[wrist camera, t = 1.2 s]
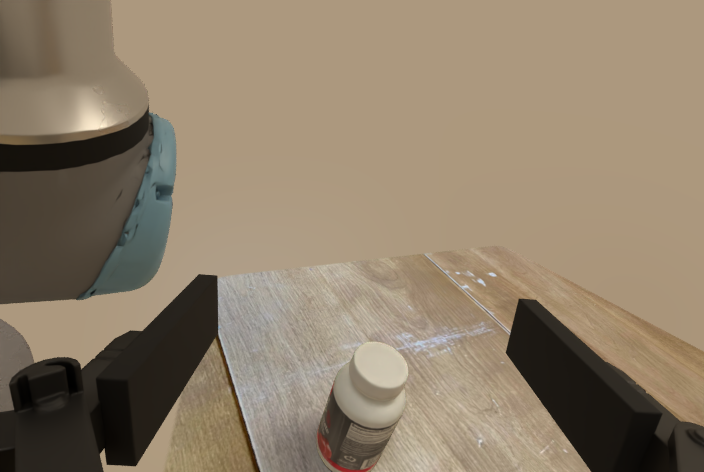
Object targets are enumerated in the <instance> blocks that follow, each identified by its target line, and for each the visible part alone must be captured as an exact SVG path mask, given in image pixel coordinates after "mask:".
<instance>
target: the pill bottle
mask: <svg viewBox="0 0 704 472" xmlns="http://www.w3.org/2000/svg"><path fill="white" fill-rule="evenodd" d="M407 378H408V366H407V363H406V361H405V359H404V358H403V356H402V355H401V354H400V353H399V352H398V351H397V350H396V349H394V348H393V347H391V346H389V345H387V344H384V343H381V342H367V343H364V344H362V345H360V346H359V347H358V348H357V349H356V351H355V353H354V355H353V357H352V359H351V361H350V362H348V363H347V364H345V365H344V366H343V367H342V368H341V369H340V370H339V372H338V373H337V376H336V378H335V380H334V383H333V386H332V389H331V392H330V395H329V398H328V401H327V404H326V407H325V410H324V413H323V415H322V418H321V421H320V424H319V427H318V430H317V436H316V445H317V450H318V453H319V455H320V457H321V459H322V461H323V462H324V464H325V465H326V466H327V467H328V468H329V469H330V470H331V471H333V472H370V471H371V470H372V469H373V468H374V466H375V465H376V463H377V461H378V459H379V458H380V456H381V454H382V452H383V450H384V448H385V446H386V445H387V443H388V441H389V439H390V437H391V435H392V433H393V431H394V429H395V427H396V425H397V423H398V421H399V419H400V418H401V416H402V414H403V411H404V408H405V404H406V394H405V390H404V385H405V383H406V380H407Z"/></svg>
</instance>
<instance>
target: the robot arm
mask: <svg viewBox="0 0 704 472" xmlns="http://www.w3.org/2000/svg"><path fill="white" fill-rule="evenodd" d="M175 175H176V139H175V133H174V128H173V126H172V125H171V123H170V122H169V121H168V120H166V119H163V118H160V117H159V116H158V115H157V114H153V113H149V98H148V91H147V89H146V87H145V85H144V84H143V82H142V81H141V80H140V79H139V78H138V77H137V76H136V75H135V74H134V73H133V72H132V71H131V70H130V69H129V68H128V67H127V66H126V65H125V64H124V63H123V62H122V61H121V60H120V59H119V58H118V57H117V56H116V55H115V53H114V44H113V26H112V10H111V0H0V304H9V303H24V302H40V301H54V300H69V299H76V300H84V299H87V298H89V297H91V296H95V295H102V294H110V293H118V292H126V291H132V290H135V289H138V288H141V287H142V286H144V285H146V284H147V283H148V282H149V281H150V280H151V279H152V278H153V277H154V276H155V274H156V273H157V271H158V269H159V267H160V264H161V261H162V258H163V255H164V251H165V247H166V243H167V238H168V233H169V227H170V221H171V214H172V205H173V204H172V197H171V195H172V193H173V186H174V181H175ZM217 334H218V286H217V276H214V275H201V274H199V275H198V276H197V277H196V278H195V279H194V280H193V281H192V282H191V283H190V284H189V285H188V286H187V287H186V288H185V289H184V290H183V291H182V292H181V293H180V294H179V295H178V296H177V297H176V298H175V299H174V300H173V301H172V302H171V303H170V304H169V305H168V306H167V307H166V308H165V309H164V310H163V311H162V312H161V313H160V314H159V315H158V316H157V317H156V318H155V319H154V320H153V321H152V322H151V323H150V324H149V325H148V326H147V327H146V328H145V329H144V330H143V331H129V332H127V333H125V334H123V335H121V336H119V337H117V338H115V339H114V340H113V341H112V342H111V343H110V344H109V345H108V346H106V347H105V348H104V350H103V351H101V352H100V353H99V354H98V355H97V356H96V357H95V359H92V360H91V361H90V362H89V363H88V364H87V365H86V366H85V367H84V368H82V369H81V367H80V363H79V362H78V361H77V360H76V359H72V358H68V357H67V358H65V357H61V358H60V357H57V358H52V359H47V360H43V361H40V362H37V363H34V364H31V365H29V366H27V367H26V368H24V369H22V370H20V371H19V372H18V373H17V374H15V375H14V376H13V377H12V378H11V381H10V383H9V388H10V393H11V398H12V402H13V407H14V410H11V411H4V412H0V472H103V468H102V463H101V460H100V453H101V452H102V450H103V449H104V448H105V455H106V462H107V465H122V466H123V465H124V466H136V465H137V463H138V462H139V460H140V459H141V457H142V456H143V454H144V452H145V451H146V449H147V447H148V446H149V444H150V443H151V441H152V439H153V438H154V436H155V434H156V433H157V431H158V430H159V428H160V426H161V425H162V423H163V422H164V420H165V418H166V417H167V415H168V413H169V412H170V410H171V409H172V407H173V405H174V404H175V402H176V400H177V399H178V397H179V396H180V394H181V392H182V391H183V389H184V387H185V386H186V384H187V383H188V381H189V379H190V378H191V376H192V375H193V373H194V371H195V370H196V368H197V366H198V365H199V363H200V362H201V360H202V358H203V357H204V355H205V353H206V352H207V350H208V349H209V347H210V345H211V344H212V342H213V340H214V339H215V337H216V336H217ZM506 354H507V355H508V357H509V358H510V359H511V361H512V362H513V363H514V365H515V366H516V368H517V369H518V370H519V372H520V373H521V375H522V376H523V377H524V379H525V380H526V382H527V383H528V384H529V386H530V387H531V388H532V390H533V391H534V393H535V394H536V395H537V397H538V398H539V400H540V401H541V402H542V404H543V405H544V407H545V408H546V409H547V411H548V412H549V413H550V415H551V416H552V418H553V419H554V420H555V422H556V423H557V425H558V426H559V427H560V429H561V430H562V432H563V433H564V434H565V436H566V437H567V438H568V440H569V441H570V443H571V444H572V445H573V447H574V448H575V450H576V451H577V452H578V454H579V455H580V456H581V458H582V459H583V461H584V462H585V463H586V465H587V466H588V468H589V469H590V470H591V472H704V427H703V426H700V425H697V424H694V423H690V422H683V421H682V422H681V421H679V420H678V419H677V418H676V417H675V416H674V415H672V414H671V413H670V412H669V411H668V410H667V409H666V408H664V407H663V406H662V405H661V404H660V403H659V402H658V401H656V400H655V399H654V398H653V397H652V396H651V395H650V394H648V393H646V391H645V390H644V389H643V388H641V387H640V386H639V385H637V384H636V382H635V381H633V380H632V379H631V378H630V377H629V376H628V375H627V374H625V373H624V372H623V371H621V370H620V369H618V368H616V367H615V366H613V365H611V364H610V363H608V362H605V361H604V360H602V359H601V358H600V357H599V356H598V355H597V354H596V353H595V352H594V351H592V350H591V349H590V348H589V347H588V346H587V345H586V344H585V343H583V342H582V341H581V340H580V339H579V338H578V337H577V336H576V335H575V334H573V333H572V332H571V331H570V330H569V329H568V328H567V327H566V326H564V325H563V324H562V323H561V322H560V321H559V320H558V319H557V318H556V317H554V316H553V315H552V314H551V313H550V312H549V311H548V310H547V309H545V308H544V307H543V306H542V305H541V304H540V303H539V302H538V301H537V300H530V299H519V301H518V305H517V309H516V313H515V317H514V321H513V325H512V329H511V333H510V338H509V342H508V346H507V350H506Z"/></svg>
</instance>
